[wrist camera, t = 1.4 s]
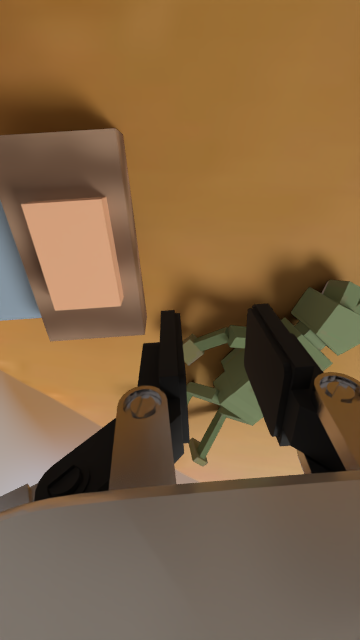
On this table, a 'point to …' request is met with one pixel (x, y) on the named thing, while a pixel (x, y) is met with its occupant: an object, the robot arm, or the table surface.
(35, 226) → the tan flat block
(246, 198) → the table surface
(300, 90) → the table surface
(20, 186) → the plate
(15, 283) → the mat
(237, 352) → the toy
